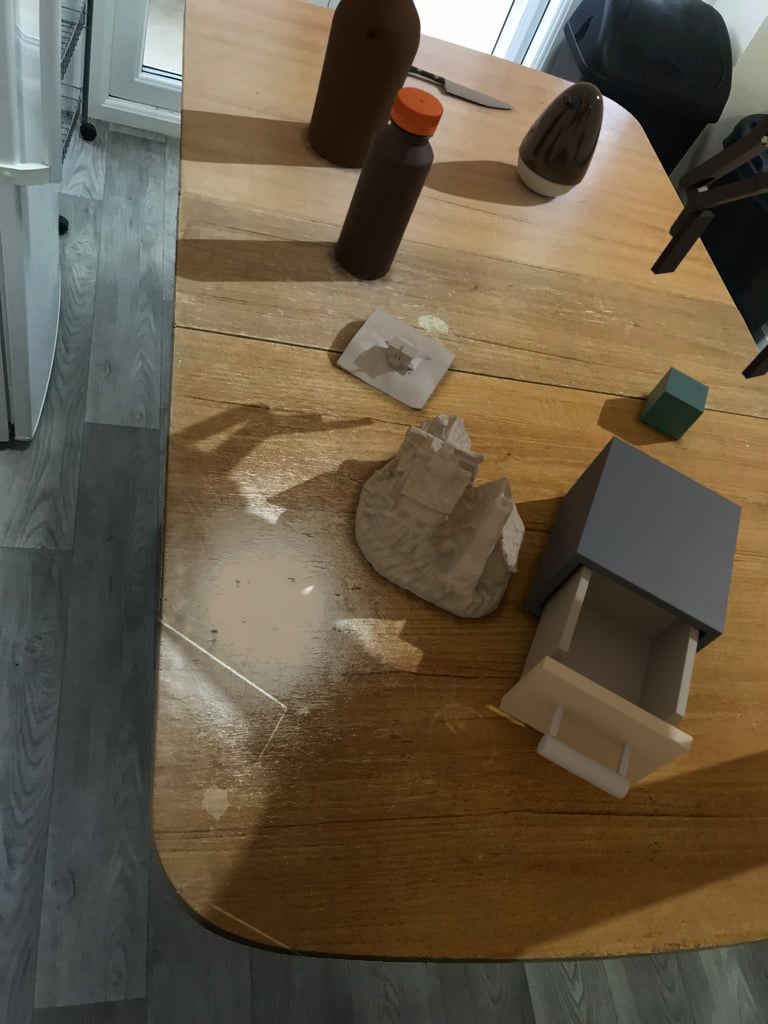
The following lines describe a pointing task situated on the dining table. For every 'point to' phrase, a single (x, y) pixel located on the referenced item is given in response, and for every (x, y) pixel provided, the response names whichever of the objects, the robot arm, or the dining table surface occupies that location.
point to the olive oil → (362, 75)
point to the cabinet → (645, 537)
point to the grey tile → (396, 359)
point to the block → (675, 403)
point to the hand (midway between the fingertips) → (705, 320)
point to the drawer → (606, 682)
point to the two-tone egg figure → (562, 141)
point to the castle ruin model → (440, 522)
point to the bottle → (389, 185)
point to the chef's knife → (462, 90)
